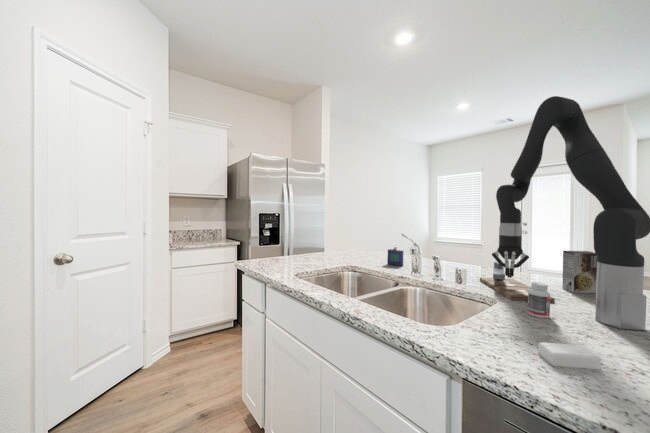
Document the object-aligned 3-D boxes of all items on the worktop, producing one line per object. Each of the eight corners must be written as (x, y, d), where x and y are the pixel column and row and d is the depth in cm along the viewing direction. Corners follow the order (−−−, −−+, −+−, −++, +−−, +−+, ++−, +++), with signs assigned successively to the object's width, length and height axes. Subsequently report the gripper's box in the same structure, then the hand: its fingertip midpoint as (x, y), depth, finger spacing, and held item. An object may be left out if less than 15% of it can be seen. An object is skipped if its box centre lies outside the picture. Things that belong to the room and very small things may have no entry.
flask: (403, 265, 160) (404, 247, 160) (402, 266, 157) (402, 247, 157) (388, 264, 164) (388, 246, 164) (386, 265, 162) (386, 246, 162)
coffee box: (584, 289, 115) (586, 250, 115) (598, 294, 109) (600, 253, 108) (561, 288, 116) (562, 250, 115) (573, 293, 109) (574, 252, 109)
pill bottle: (551, 319, 82) (552, 287, 81) (529, 316, 84) (529, 284, 84) (547, 314, 86) (548, 283, 86) (526, 310, 89) (527, 280, 89)
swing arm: (504, 288, 108) (505, 270, 108) (492, 286, 111) (493, 269, 110) (503, 278, 125) (503, 262, 124) (493, 277, 127) (493, 261, 126)
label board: (554, 302, 97) (554, 297, 97) (511, 300, 99) (511, 295, 99) (512, 282, 125) (512, 278, 125) (479, 280, 127) (479, 277, 127)
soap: (581, 357, 61) (581, 344, 61) (602, 371, 56) (602, 356, 56) (536, 354, 63) (537, 340, 62) (553, 367, 57) (553, 353, 57)
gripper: (490, 234, 111) (489, 276, 112) (531, 235, 104) (530, 281, 104) (491, 232, 118) (490, 273, 118) (529, 234, 110) (529, 277, 111)
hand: (509, 277), depth 111 cm, fingers closed
